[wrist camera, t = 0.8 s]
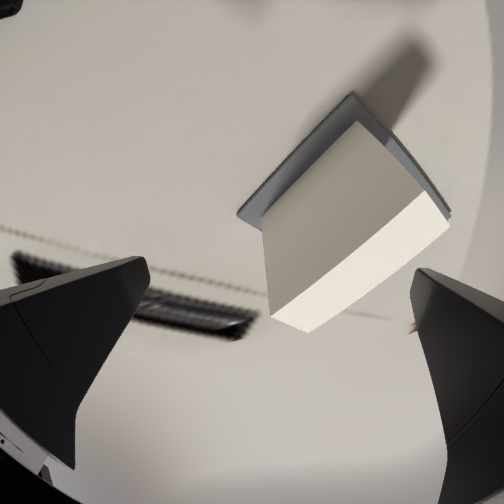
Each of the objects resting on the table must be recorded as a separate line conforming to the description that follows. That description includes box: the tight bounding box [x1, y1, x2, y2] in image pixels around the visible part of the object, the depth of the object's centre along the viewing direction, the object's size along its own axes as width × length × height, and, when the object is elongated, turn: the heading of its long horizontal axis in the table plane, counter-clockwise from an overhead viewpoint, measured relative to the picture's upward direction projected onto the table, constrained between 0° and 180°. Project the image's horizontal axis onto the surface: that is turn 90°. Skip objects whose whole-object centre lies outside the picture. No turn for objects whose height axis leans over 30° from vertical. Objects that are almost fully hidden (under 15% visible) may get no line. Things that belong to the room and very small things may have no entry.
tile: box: [261, 121, 450, 333], centre depth 17 cm, size 3×10×9 cm, turn 142°
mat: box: [237, 94, 451, 231], centre depth 23 cm, size 15×12×1 cm
